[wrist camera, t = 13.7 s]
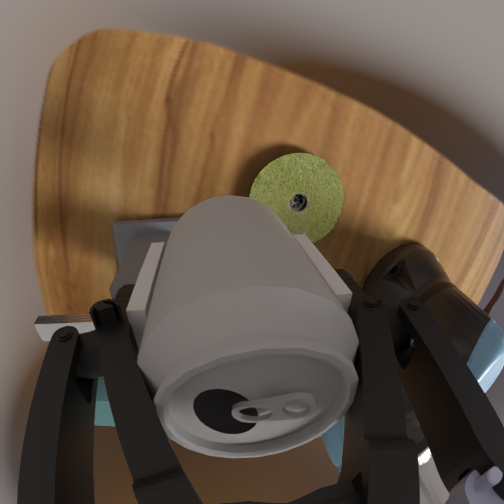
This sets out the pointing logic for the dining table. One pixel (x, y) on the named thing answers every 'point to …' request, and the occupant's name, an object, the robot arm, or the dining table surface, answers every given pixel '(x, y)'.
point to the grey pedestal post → (136, 246)
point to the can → (244, 336)
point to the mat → (301, 193)
